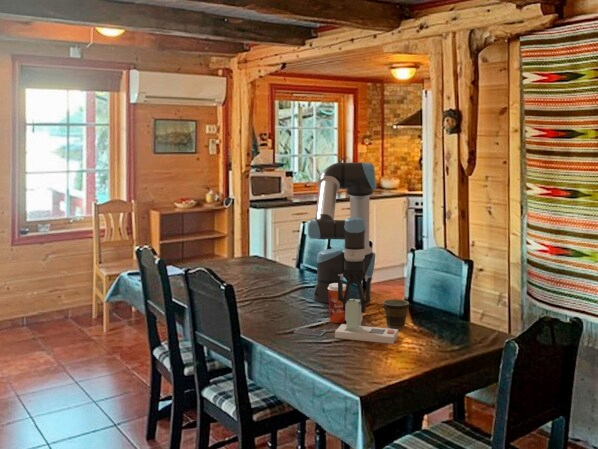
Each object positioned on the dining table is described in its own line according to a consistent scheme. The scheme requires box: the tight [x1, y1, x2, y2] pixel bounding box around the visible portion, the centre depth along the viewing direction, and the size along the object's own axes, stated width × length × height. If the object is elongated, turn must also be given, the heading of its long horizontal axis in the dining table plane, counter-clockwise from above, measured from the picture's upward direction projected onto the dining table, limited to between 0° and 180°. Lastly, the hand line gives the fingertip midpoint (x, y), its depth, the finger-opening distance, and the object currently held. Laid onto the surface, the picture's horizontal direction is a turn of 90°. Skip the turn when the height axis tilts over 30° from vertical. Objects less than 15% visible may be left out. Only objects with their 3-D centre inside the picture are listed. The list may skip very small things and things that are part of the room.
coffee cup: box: [328, 283, 347, 324], centre depth 257 cm, size 8×8×15 cm
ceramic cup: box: [377, 298, 410, 330], centre depth 248 cm, size 13×10×10 cm
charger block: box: [345, 298, 362, 329], centre depth 237 cm, size 4×4×10 cm
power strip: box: [334, 323, 399, 345], centre depth 237 cm, size 10×22×3 cm, turn 71°
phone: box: [293, 327, 327, 337], centre depth 243 cm, size 6×11×1 cm, turn 68°
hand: (353, 320), depth 238 cm, fingers closed on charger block, 4 cm apart
